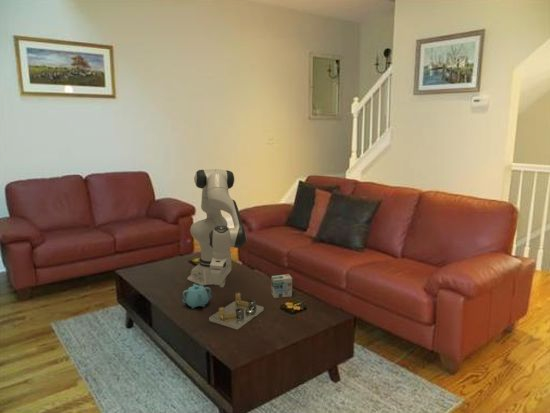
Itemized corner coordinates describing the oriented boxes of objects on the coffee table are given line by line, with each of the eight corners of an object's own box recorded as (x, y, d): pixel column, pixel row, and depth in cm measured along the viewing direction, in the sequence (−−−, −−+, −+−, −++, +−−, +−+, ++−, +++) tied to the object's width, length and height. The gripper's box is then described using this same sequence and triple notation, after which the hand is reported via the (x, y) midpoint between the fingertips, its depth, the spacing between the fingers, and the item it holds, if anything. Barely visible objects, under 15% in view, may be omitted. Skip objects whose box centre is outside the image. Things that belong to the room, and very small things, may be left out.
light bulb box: (274, 298, 230) (274, 280, 228) (271, 293, 237) (270, 275, 235) (292, 296, 233) (292, 278, 231) (289, 291, 240) (289, 273, 237)
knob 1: (219, 320, 201) (219, 310, 200) (218, 317, 205) (218, 306, 203) (244, 316, 205) (244, 306, 203) (243, 313, 208) (242, 303, 207)
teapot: (196, 298, 232) (194, 279, 230) (217, 303, 225) (215, 283, 223) (180, 308, 221) (178, 288, 219) (202, 312, 214) (200, 292, 212)
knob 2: (233, 304, 219) (233, 294, 217) (238, 301, 222) (238, 291, 221) (253, 309, 212) (253, 299, 211) (257, 306, 216) (257, 296, 215)
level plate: (209, 321, 205) (208, 314, 205) (236, 303, 225) (236, 297, 224) (238, 329, 197) (238, 322, 196) (264, 310, 216) (264, 304, 215)
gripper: (222, 252, 213) (222, 277, 216) (208, 266, 194) (209, 294, 197) (234, 253, 212) (234, 278, 215) (221, 267, 193) (222, 295, 196)
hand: (222, 286), depth 206 cm, fingers closed
